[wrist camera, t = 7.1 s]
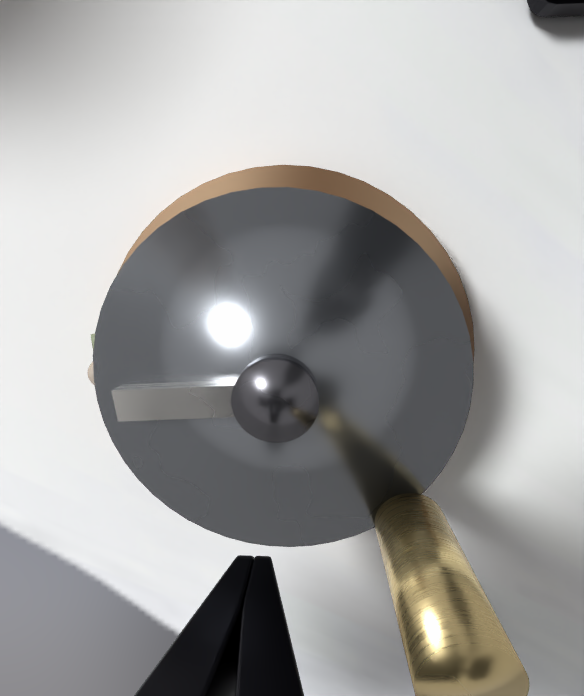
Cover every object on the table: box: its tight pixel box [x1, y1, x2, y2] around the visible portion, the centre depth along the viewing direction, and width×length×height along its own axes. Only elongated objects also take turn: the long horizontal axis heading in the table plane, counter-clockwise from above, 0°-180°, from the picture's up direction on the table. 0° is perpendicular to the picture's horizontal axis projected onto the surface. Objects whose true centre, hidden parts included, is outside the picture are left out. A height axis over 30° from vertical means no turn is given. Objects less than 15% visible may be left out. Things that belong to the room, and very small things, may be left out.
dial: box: [93, 187, 529, 696], centre depth 7 cm, size 9×9×5 cm
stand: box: [88, 165, 474, 385], centre depth 10 cm, size 11×11×2 cm
